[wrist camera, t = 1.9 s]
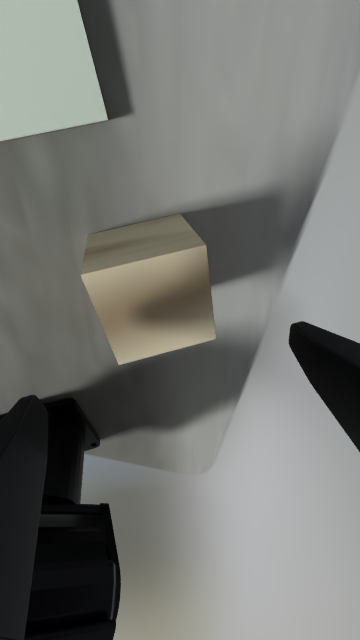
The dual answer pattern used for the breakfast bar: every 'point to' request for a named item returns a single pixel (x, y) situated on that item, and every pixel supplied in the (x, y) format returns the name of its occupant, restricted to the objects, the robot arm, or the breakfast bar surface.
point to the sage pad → (45, 69)
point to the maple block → (150, 287)
